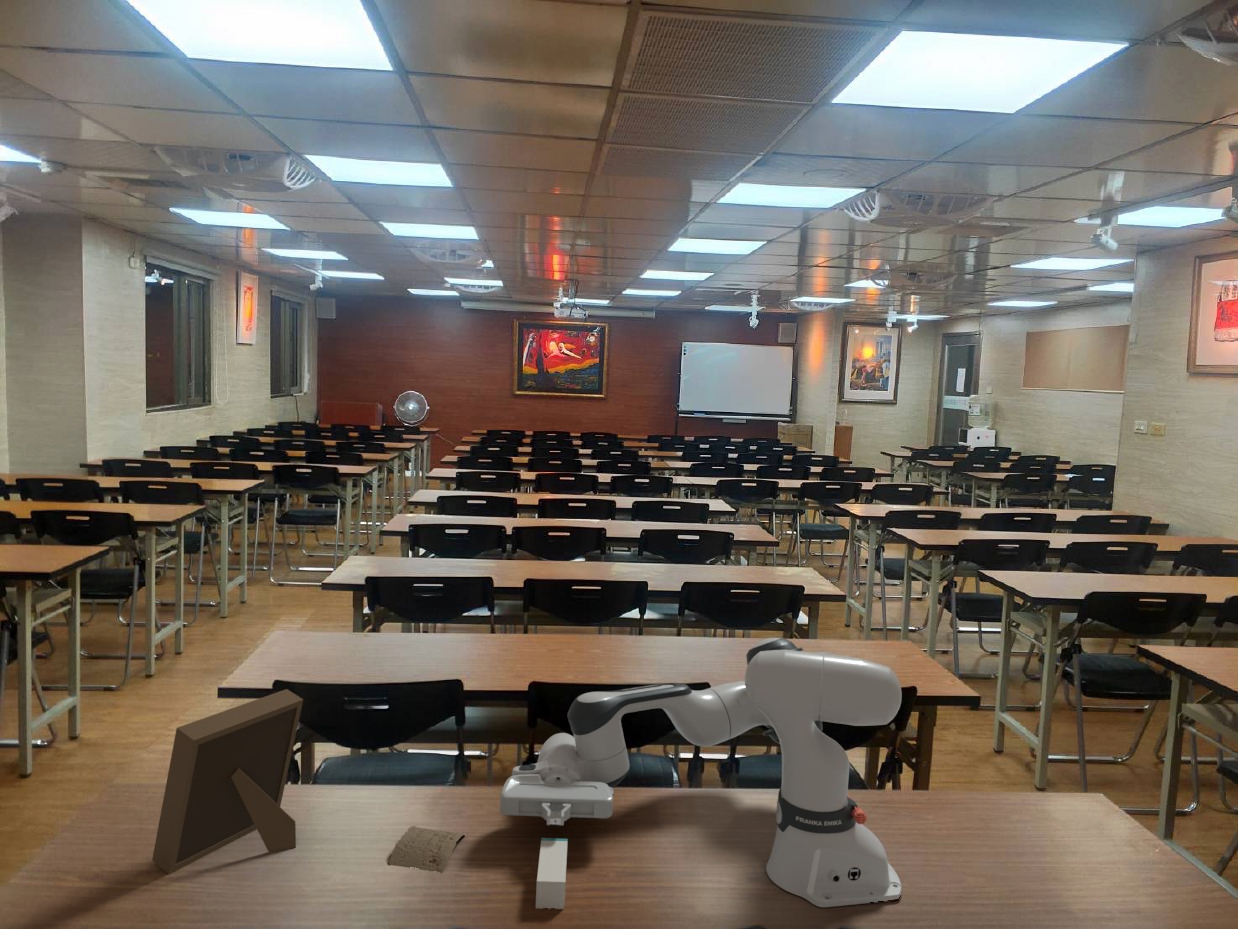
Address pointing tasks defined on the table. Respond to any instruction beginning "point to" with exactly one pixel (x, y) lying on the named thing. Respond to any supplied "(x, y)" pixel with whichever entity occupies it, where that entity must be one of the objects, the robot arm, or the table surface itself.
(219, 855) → the table surface
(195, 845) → the photo frame
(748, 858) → the table surface
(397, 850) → the clay tablet
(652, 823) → the table surface
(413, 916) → the table surface
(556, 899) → the block
